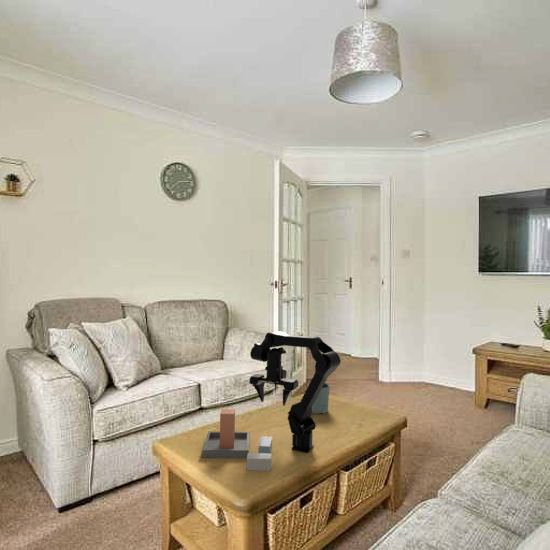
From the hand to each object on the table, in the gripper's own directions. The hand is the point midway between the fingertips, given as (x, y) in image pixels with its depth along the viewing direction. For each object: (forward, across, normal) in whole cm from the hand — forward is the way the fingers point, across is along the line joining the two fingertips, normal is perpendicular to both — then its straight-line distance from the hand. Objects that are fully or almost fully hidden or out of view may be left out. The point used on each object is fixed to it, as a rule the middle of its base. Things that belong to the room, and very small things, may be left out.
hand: (273, 403), depth 157 cm
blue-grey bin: (+13, -7, -36) cm, 39 cm away
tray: (+13, +11, +16) cm, 23 cm away
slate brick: (+13, -3, +13) cm, 19 cm away
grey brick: (+13, -6, +24) cm, 28 cm away
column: (+12, +11, +16) cm, 23 cm away
